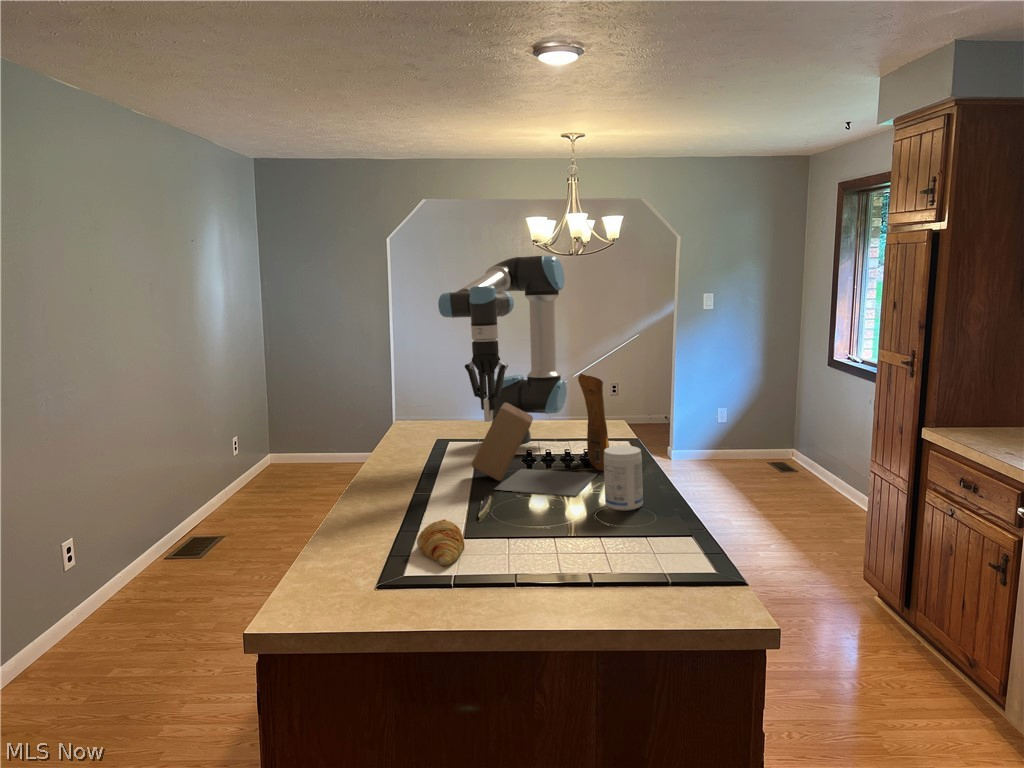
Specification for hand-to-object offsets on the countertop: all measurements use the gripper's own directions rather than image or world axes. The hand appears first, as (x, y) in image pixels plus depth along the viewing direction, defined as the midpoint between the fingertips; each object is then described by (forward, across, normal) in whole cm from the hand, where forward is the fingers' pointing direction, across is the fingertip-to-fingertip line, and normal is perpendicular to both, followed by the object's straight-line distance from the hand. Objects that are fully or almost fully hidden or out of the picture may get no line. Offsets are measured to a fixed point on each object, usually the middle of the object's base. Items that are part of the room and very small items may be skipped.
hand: (488, 420), depth 218 cm
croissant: (+18, +12, -56) cm, 60 cm away
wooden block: (+15, -1, 0) cm, 15 cm away
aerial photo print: (+18, +16, -25) cm, 35 cm away
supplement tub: (+18, +43, -15) cm, 49 cm away
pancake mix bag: (+18, +26, +22) cm, 39 cm away
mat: (+17, +17, 0) cm, 24 cm away
